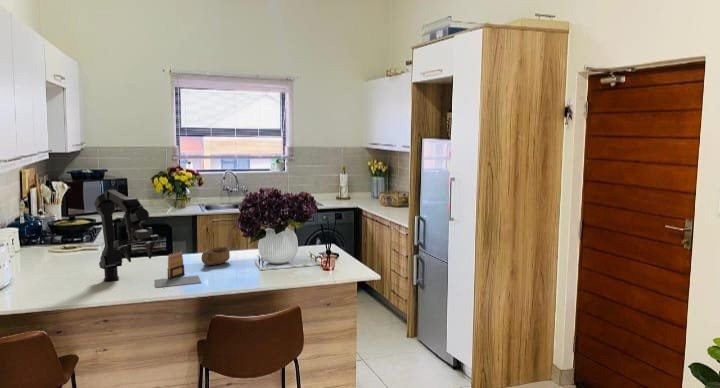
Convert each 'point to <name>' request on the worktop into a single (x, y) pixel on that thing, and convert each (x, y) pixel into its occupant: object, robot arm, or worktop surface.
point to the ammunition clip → (175, 265)
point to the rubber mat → (177, 281)
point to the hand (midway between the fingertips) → (140, 260)
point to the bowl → (216, 255)
